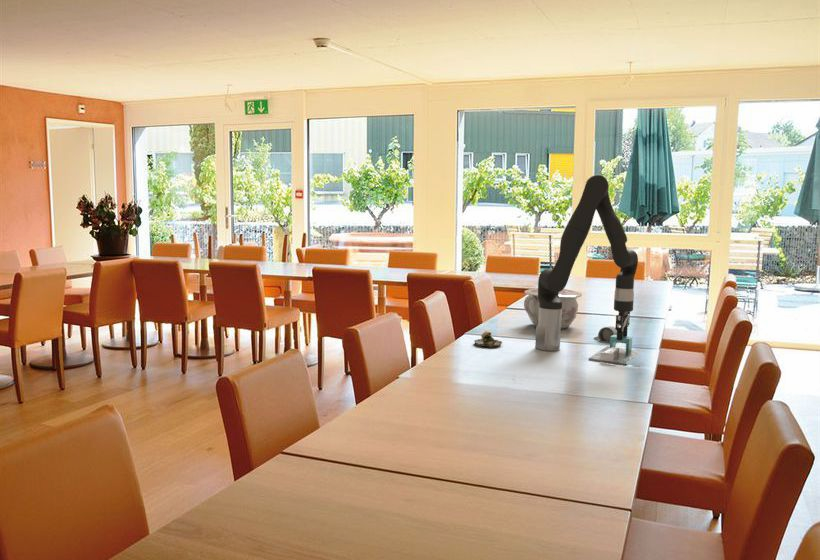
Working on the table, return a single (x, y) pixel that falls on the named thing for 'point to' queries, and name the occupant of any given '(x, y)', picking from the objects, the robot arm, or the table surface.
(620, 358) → the base
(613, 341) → the block
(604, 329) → the ceramic mug
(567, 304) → the chamber pot
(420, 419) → the table surface
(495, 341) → the mottled brown knobbed disc
